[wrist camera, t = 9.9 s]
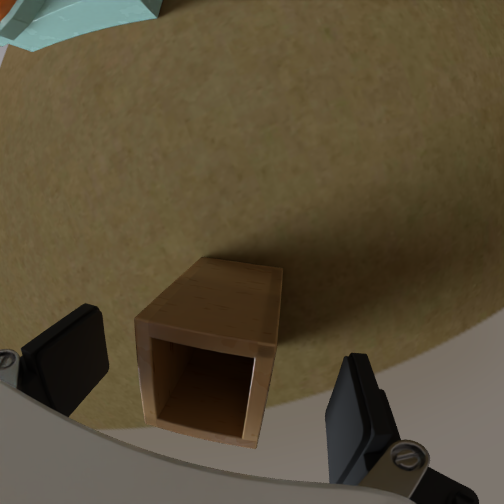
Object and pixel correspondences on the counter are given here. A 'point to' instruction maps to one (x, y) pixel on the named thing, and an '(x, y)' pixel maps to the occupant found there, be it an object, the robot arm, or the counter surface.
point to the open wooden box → (210, 351)
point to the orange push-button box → (68, 19)
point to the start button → (5, 7)
